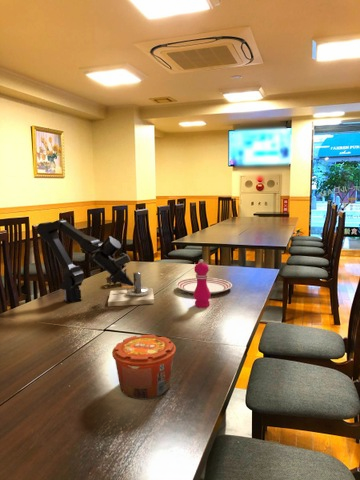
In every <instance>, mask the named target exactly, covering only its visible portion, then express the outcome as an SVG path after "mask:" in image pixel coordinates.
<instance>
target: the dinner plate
mask: <svg viewBox="0 0 360 480" xmlns="http://www.w3.org/2000/svg"><path fill="white" fill-rule="evenodd" d="M206 281H207V286H208V289H209V291H210V295H216V294H219V293H222V292H225V291H228V290H230V289H231V288H232V287H233V284H232V283H231V282H230V281H227V280H225V279H220V278H216V277H208V278H207V280H206ZM175 286H176V287H177V288H178V289H179V290H182V291H184V292H186V293H188V294H193V295H194V291H195V289H196V286H197V278H196V277H191V278H184V279H181V280H178V281H177V282H176V284H175Z"/></svg>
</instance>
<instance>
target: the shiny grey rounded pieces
mask: <svg viewBox="0 0 360 480" xmlns="http://www.w3.org/2000/svg"><path fill="white" fill-rule="evenodd" d="M132 275H133V283H134V285H133V286H130V285H124V286H121V288H126V290H127V295H128V296H132V297H140V296H145V295H148V294H149V289H150V288H149V287H148V286H143V283H142V276H141V275H142V274H141V272H139V271H135V272H133V273H132Z"/></svg>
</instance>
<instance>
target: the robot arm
mask: <svg viewBox="0 0 360 480" xmlns="http://www.w3.org/2000/svg"><path fill="white" fill-rule="evenodd" d="M36 227H37V228H36V232H37V234H38V235H39V237H40V238H41V239H43V240H44V241H45V242H47V244H48V245H49V247H50V249H51V250H52V253H53V254H54V257H55V258H56V260H57V262H58V263H59V265H60V266H61V269H62V277H63V281H62V282H61V283H60V286H59V287H60V288H61V290H63V292H64V294H63V295H64V298H63V301H64V300H65V301H66V302H67V303H66V302H65V301H64V302H65V303H66V304H69V303H68V302H71V303H76V302H75V301H77V302H81V301H82V293H81V292H82V290H81V289H80V286H82V284H83V282H84V279H85V275H84V271H83V270H82V268H81V265H75V264H73V262H72V259H71V258H70V256H69V254H68V253H67V251H66V249H65V247H64V246H63V244H62V242H61V240H60V239H59V231H60V232H62V233H63V234H65V235H66V236H68V237H69V238H71V240H73V241H75V242H76V243H77V244H78V245H79V247H80V249H82V250H83V252H85V253H86V254H90V256H89V263H90V264H91V263H93V262H95V263H96V264H98V265H99V266H100V267H101V268H103V271H106V272H107V273H108V274H110V275H111V277H112V278H111V282H112V283H113V285H116V284H117V283H119V284H120V283H123V284H125V285H126V286H132V287H134V281H133V280H132V279H131V278H130V277H129V275H128V272H127V268H126V267H127V264H129V263H131V258H130V256H129V255H128V253H124V252H121V253H120V255H119V257H118V258H115V257H113V258H112V256H114V255H115V254H116V253H117V252H118V251H119V250H120V249H121V247H122V244H121V243H120V241H119V240H118V239H116V238H113V237H112V236H111V235H110V236H108V237H106V239H105V240H104V241H100V239H99V238H96V237H94V236H90V235H87V234H85V233H84V232H82V231H81V230H79V228H76V227H75V226H73V225H72V224H71V223H69V222H68V221H67V220H66V219H57V220H54V221H47V222H41V223H39V224H38V225H37V226H36ZM92 253H94V254H92ZM124 268H125V269H124ZM123 269H124V270H123ZM112 283H111V284H112Z"/></svg>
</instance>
